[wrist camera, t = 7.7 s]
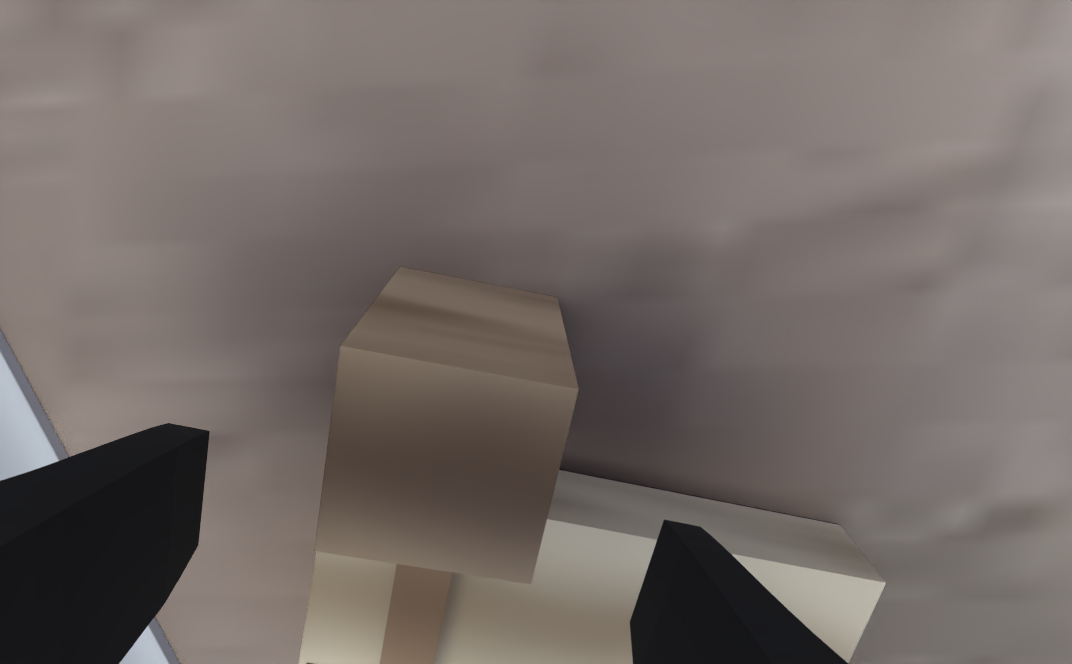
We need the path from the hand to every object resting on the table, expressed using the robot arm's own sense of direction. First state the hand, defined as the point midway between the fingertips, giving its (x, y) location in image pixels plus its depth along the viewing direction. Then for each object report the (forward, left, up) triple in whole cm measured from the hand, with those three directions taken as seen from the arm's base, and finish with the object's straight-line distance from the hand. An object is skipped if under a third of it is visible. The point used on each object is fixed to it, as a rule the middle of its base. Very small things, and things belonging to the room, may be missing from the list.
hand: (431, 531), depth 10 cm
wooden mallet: (-3, 0, -7) cm, 8 cm away
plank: (-6, -4, -7) cm, 10 cm away
